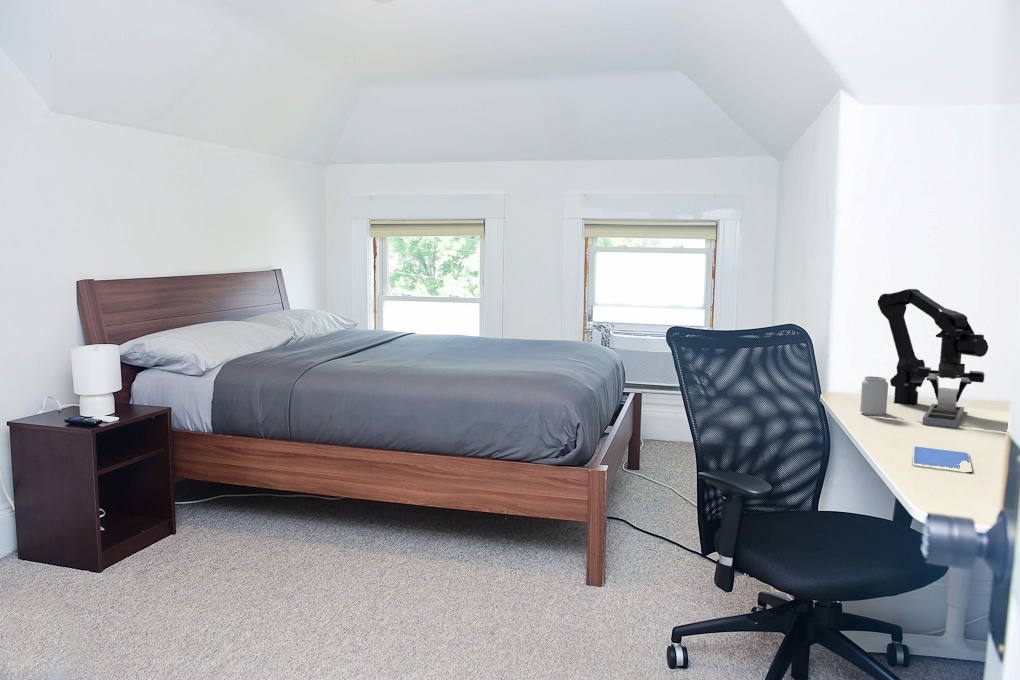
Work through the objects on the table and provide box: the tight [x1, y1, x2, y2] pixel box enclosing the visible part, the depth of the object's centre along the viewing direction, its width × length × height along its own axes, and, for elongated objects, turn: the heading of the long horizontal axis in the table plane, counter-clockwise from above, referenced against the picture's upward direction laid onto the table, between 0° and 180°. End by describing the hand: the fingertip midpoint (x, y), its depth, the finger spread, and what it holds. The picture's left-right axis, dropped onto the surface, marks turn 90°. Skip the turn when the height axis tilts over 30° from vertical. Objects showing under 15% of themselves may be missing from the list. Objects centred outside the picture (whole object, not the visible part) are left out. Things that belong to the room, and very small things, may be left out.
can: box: [859, 375, 889, 417], centre depth 231 cm, size 8×8×12 cm
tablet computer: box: [912, 446, 970, 469], centre depth 179 cm, size 19×13×1 cm, turn 150°
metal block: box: [936, 386, 959, 411], centre depth 233 cm, size 5×5×7 cm
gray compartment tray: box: [921, 403, 965, 429], centre depth 227 cm, size 9×27×2 cm, turn 145°
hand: (947, 400), depth 233 cm, fingers closed on metal block, 5 cm apart
